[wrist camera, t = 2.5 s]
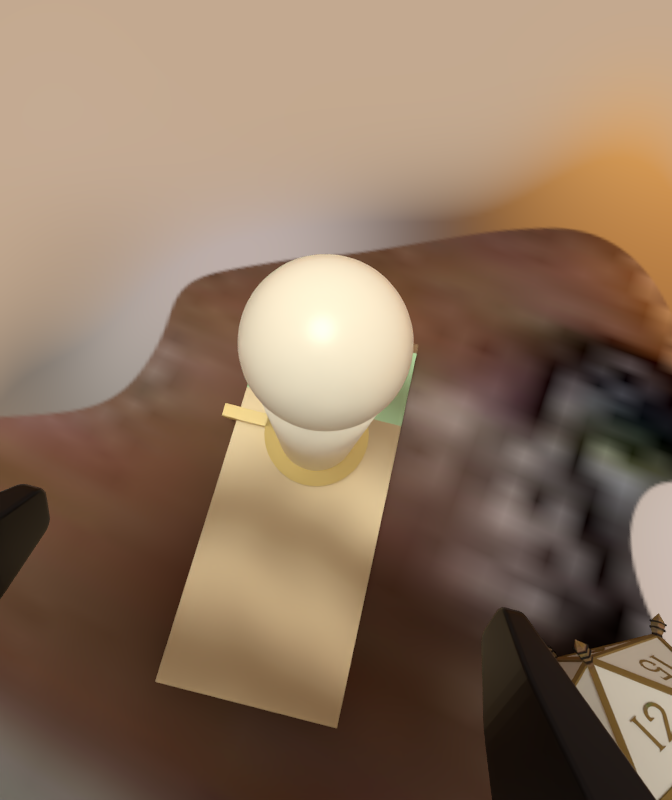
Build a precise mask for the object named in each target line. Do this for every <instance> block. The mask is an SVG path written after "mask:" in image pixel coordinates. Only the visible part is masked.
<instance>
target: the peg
mask: <svg viewBox="0 0 672 800" xmlns="http://www.w3.org/2000/svg"><path fill="white" fill-rule="evenodd" d="M238 354H239V360H240V364H241V368H242V371H243V374H244V377H245V379H246V381H247V383H248V385H249V387H250V389H251V390H252V392H253V393H254V394H255V396H256V397H257V398H258V400H259V401H260V402H261V403H262V405H263V407H264V409H265V412H266V413H262V412H258V411H255V410H251V409H247V408H243V407H239V406H235V405H231V404H227V403H226V404H225V407H224V410H223V413H222V416H223V417H226V418H230V419H233V420H237V421H241V422H245V423H249V424H253V425H257V426H261V427H265V431H264V438H265V445H266V449H267V452H268V455H269V457H270V459H271V460H272V462H273V463H274V465H275V466H276V467H277V469H278V470H279V471H280V472H281V473H282V474H283V475H285V476H286V477H287V478H289V479H290V480H292V481H294V482H296V483H299V484H302V485H306V486H316V487H318V486H326V485H331V484H333V483H336V482H338V481H340V480H342V479H344V478H345V477H347V476H348V475H349V474H350V473H352V472H353V471H354V470H355V469H356V467H357V466H358V465H359V464H360V462H361V460H362V459H363V457H364V454H365V452H366V449H367V446H368V439H369V430H368V426H369V425H370V423H371V422H372V421H373V419H374V418H375V417H376V415H377V414H379V413H380V412H381V411H382V410H383V409H385V408H386V407H387V406H388V405H389V404H390V403H391V402H392V400H393V399H394V398H395V397H396V396H397V394H398V392H399V391H400V389H401V388H402V386H403V384H404V382H405V380H406V377H407V375H408V373H409V369H410V366H411V363H412V356H413V330H412V324H411V321H410V317H409V314H408V311H407V308H406V306H405V304H404V302H403V300H402V298H401V297H400V295H399V293H398V292H397V291H396V289H395V288H394V287H393V286H392V284H391V283H390V282H389V281H388V280H387V279H386V278H385V277H384V276H383V275H382V274H380V273H379V272H378V271H376V270H375V269H373V268H372V267H370V266H368V265H367V264H365V263H363V262H360V261H358V260H355V259H352V258H349V257H345V256H340V255H332V254H318V255H310V256H305V257H302V258H298V259H295V260H293V261H290V262H288V263H286V264H284V265H282V266H281V267H279V268H277V269H276V270H275V271H274V272H272V273H271V274H270V275H268V276H267V277H266V278H265V279H264V280H263V281H262V282H261V283H260V284H259V285H258V287H257V288H256V289H255V290H254V292H253V293H252V295H251V297H250V299H249V300H248V302H247V304H246V306H245V309H244V311H243V314H242V317H241V321H240V325H239V333H238Z"/></svg>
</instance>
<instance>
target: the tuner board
mask: <svg viewBox="0 0 672 800" xmlns="http://www.w3.org/2000/svg"><path fill="white" fill-rule="evenodd" d="M417 350H418V345H416V344H413V356H412V363H411V366H410V369H409V373H408V375H407V377H406V380H405V382H404V384H403V386H402V388H401V389H400V391H399V392H398V394H397V396H396V397H395V398H394V399H393V400H392V402H391V403H390V404H389V405H388V406H387V407H386V408H385V409H383V410H382V411H381V412H380V413H379V414H377V415H376V417H375V418H374V419H373V421H372V422H371V423H370V425H369V426H368V430H369V439H368V446H367V449H366V452H365V454H364V457H363V459H362V460H361V462H360V464H359V465H358V466H357V467H356V469H355V470H354V471H353V472H352V473H350V474H349V475H348V476H347V477H345V478H344V479H342V480H340V481H338V482H336V483H333V484H331V485H326V486H318V487H316V486H306V485H302V484H299V483H296V482H294V481H292V480H290V479H289V478H287V477H286V476H285V475H283V474H282V473H281V472H280V471H279V470H278V469H277V467H276V466H275V465H274V463H273V462H272V460H271V459H270V457H269V455H268V452H267V449H266V445H265V438H264V431H265V427H261V426H257V425H253V424H249V423H245V422H241V421H236V424H235V427H234V431H233V434H232V437H231V440H230V443H229V447H228V450H227V453H226V456H225V459H224V463H223V466H222V469H221V472H220V475H219V479H218V482H217V485H216V488H215V491H214V495H213V498H212V501H211V504H210V507H209V511H208V514H207V517H206V520H205V523H204V527H203V530H202V533H201V536H200V539H199V543H198V546H197V549H196V552H195V555H194V559H193V562H192V565H191V568H190V571H189V575H188V578H187V581H186V584H185V587H184V591H183V594H182V597H181V600H180V603H179V607H178V610H177V613H176V616H175V619H174V623H173V626H172V629H171V632H170V635H169V639H168V642H167V645H166V648H165V651H164V655H163V658H162V661H161V664H160V667H159V671H158V674H157V677H156V680H155V682H158V683H162V684H166V685H170V686H174V687H178V688H181V689H185V690H189V691H193V692H197V693H201V694H205V695H209V696H213V697H217V698H220V699H224V700H228V701H232V702H236V703H240V704H244V705H248V706H252V707H255V708H259V709H263V710H267V711H271V712H275V713H279V714H283V715H287V716H290V717H294V718H298V719H302V720H306V721H310V722H314V723H318V724H322V725H326V726H329V727H333V728H337V725H338V720H339V716H340V711H341V706H342V702H343V697H344V692H345V687H346V683H347V678H348V673H349V669H350V664H351V659H352V655H353V650H354V645H355V641H356V636H357V631H358V627H359V622H360V617H361V612H362V608H363V603H364V598H365V594H366V589H367V584H368V580H369V575H370V570H371V566H372V561H373V556H374V551H375V547H376V542H377V537H378V533H379V528H380V523H381V519H382V514H383V509H384V505H385V500H386V495H387V491H388V486H389V481H390V476H391V472H392V467H393V462H394V458H395V453H396V448H397V444H398V439H399V434H400V430H401V425H402V420H403V415H404V411H405V406H406V401H407V397H408V392H409V387H410V383H411V378H412V373H413V369H414V364H415V359H416V354H417ZM241 407H243V408H247V409H251V410H255V411H258V412H262V413H266V412H265V409H264V407H263V405H262V403H261V402H260V401H259V400H258V398H257V397H256V396H255V394H254V393H253V392H252V390H251V389H250V387H249V385H248V386H247V389H246V392H245V395H244V399H243V402H242V405H241Z"/></svg>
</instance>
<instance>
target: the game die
mask: <svg viewBox="0 0 672 800" xmlns="http://www.w3.org/2000/svg"><path fill="white" fill-rule="evenodd" d="M650 622H651V625H650V628H651V630H652V634H650V635H646V636H642V637H638V638H634V639H630V640H626V641H622V642H617V643H613V644H609V645H605V646H601V647H597V648H593V649H589V648H588V644H586V643H582V642H580V641H577V640H575V645H574V647H573V649H574V651H575V652H576V653H573V654H568V655H564V656H560V657H557V655H556V652H555V651H553V650H552V648H551V647H550V646H547V647H548V648H549V649H550V651H551V652H552V654H553V655H554V656H555V658H556V659H557V661H558V662H559V663H560V665H561V666H562V668H563V669H564V671H565V672H566V673H567V675H568V676H569V678H570V679H571V680H572V682H573V683H574V685H575V686H576V687H577V689H578V690H579V692H580V693H581V694H582V696H583V697H584V699H585V700H586V701H587V703H588V704H589V706H590V707H591V708H592V710H593V711H594V713H595V714H596V715H597V717H598V718H599V720H600V721H601V723H602V724H603V725H604V727H605V728H606V730H607V731H608V732H609V734H610V735H611V737H612V738H613V739H614V741H615V742H616V744H617V745H618V746H619V748H620V749H621V751H622V752H623V753H624V755H625V756H626V758H627V759H628V760H629V762H630V763H631V765H632V766H633V767H634V769H635V770H636V772H637V773H638V775H639V776H640V777H641V779H642V780H643V782H644V783H645V784H646V786H647V787H648V789H649V790H650V791H651V793H652V794H653V796H654V797H655V798H656V800H672V647H671V646H670V645H669V644H668V643H667V642H666V641H665V640H664V639H663V638H662V634H663V632H665V630H664V628H665V626H666V624H664V622H663V620H662V618H661V617H660V615H659V614H657V615H656V616H655V617H654V618H653V619H652V620H651V619H650Z"/></svg>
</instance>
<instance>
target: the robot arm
mask: <svg viewBox="0 0 672 800" xmlns="http://www.w3.org/2000/svg"><path fill="white" fill-rule="evenodd" d="M49 520H50V516H49V510H48V503H47V497H46V492H45V491H44V490H43V489H42V488H39V487H35V486H31V485H27V484H20V485H16V486H14V487H11V488H9V489H6V490H4V491H1V492H0V599H1V597H2V596H3V594H4V593H5V591H6V590H7V588H8V587H9V585H10V584H11V582H12V581H13V579H14V578H15V577H16V575H17V574H18V572H19V571H20V569H21V568H22V566H23V565H24V563H25V562H26V560H27V559H28V557H29V556H30V554H31V553H32V551H33V550H34V548H35V547H36V545H37V544H38V542H39V541H40V539H41V538H42V536H43V535H44V533H45V531H46V530H47V528H48V525H49ZM481 645H482V685H483V721H484V735H485V745H486V754H487V762H488V770H489V778H490V786H491V794H492V800H656V798H655V797H654V796H653V794H652V793H651V791H650V790H649V789H648V787H647V786H646V784H645V783H644V782H643V780H642V779H641V777H640V776H639V775H638V773H637V772H636V770H635V769H634V767H633V766H632V765H631V763H630V762H629V760H628V759H627V758H626V756H625V755H624V753H623V752H622V751H621V749H620V748H619V746H618V745H617V744H616V742H615V741H614V739H613V738H612V737H611V735H610V734H609V732H608V731H607V730H606V728H605V727H604V725H603V724H602V723H601V721H600V720H599V718H598V717H597V715H596V714H595V713H594V711H593V710H592V708H591V707H590V706H589V704H588V703H587V701H586V700H585V699H584V697H583V696H582V694H581V693H580V692H579V690H578V689H577V687H576V686H575V685H574V683H573V682H572V680H571V679H570V678H569V676H568V675H567V673H566V672H565V671H564V669H563V668H562V666H561V665H560V663H559V662H558V661H557V659H556V658H555V656H554V655H553V654H552V652H551V651H550V649H549V648H548V647H547V645H546V644H545V642H544V641H543V640H542V638H541V637H540V635H539V634H538V633H537V631H536V630H535V628H534V627H533V626H532V624H531V623H530V621H529V620H528V619H527V617H526V616H525V615H524V614H523V613H522V612H520V611H517V610H513V609H509V608H505V607H502V608H500V609H498V610H497V612H496V613H495V615H494V616H493V618H492V619H491V621H490V622H489V624H488V625H487V627H486V628H485V630H484V632H483V635H482V644H481Z"/></svg>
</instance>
